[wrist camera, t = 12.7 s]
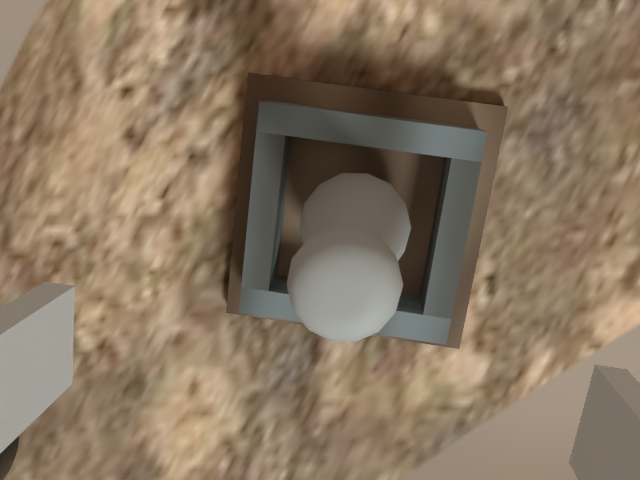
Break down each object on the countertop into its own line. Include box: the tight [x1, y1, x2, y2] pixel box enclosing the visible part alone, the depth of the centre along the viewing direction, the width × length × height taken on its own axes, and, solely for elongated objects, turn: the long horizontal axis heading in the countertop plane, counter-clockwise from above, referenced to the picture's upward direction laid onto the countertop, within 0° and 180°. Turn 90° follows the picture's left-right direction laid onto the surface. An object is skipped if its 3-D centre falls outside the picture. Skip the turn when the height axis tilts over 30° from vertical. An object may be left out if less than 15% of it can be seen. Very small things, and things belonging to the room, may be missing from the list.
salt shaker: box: [287, 173, 411, 341], centre depth 27 cm, size 6×6×13 cm
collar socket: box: [226, 73, 508, 349], centre depth 33 cm, size 14×14×4 cm
